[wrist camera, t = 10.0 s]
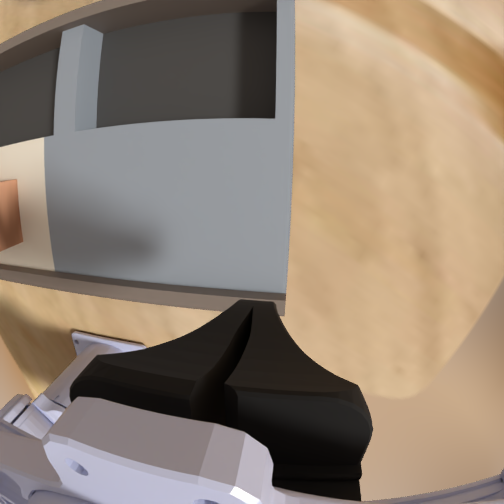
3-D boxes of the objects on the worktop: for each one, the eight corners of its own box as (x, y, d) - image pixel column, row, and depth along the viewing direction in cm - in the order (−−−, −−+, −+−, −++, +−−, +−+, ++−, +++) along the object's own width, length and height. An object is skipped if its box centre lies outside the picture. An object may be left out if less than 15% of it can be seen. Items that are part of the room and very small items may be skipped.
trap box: (286, 288, 22) (284, 320, 18) (-8, 259, 26) (-37, 273, 21) (294, 2, 16) (293, -30, 12) (-14, 71, 20) (-45, 69, 16)
